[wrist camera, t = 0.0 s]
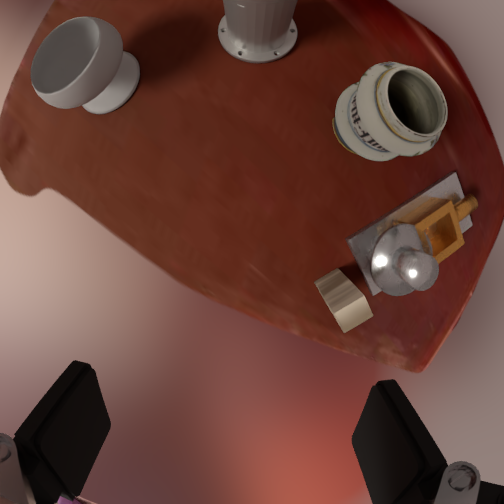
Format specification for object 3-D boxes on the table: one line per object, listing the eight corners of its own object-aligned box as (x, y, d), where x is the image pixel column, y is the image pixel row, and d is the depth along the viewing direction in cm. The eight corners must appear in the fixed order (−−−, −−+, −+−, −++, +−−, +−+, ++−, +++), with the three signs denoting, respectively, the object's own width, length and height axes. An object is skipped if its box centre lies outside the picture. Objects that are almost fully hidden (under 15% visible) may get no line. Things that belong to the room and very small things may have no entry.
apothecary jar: (332, 81, 39) (376, 34, 21) (397, 106, 40) (462, 80, 22) (318, 150, 42) (362, 132, 24) (386, 172, 43) (454, 172, 25)
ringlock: (344, 238, 45) (378, 260, 32) (450, 171, 42) (498, 174, 30) (370, 292, 47) (403, 326, 35) (467, 223, 45) (512, 237, 32)
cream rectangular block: (314, 281, 47) (333, 313, 35) (337, 267, 46) (364, 295, 35) (323, 298, 47) (344, 333, 36) (346, 285, 47) (373, 315, 35)
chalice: (109, 37, 36) (69, 1, 21) (162, 66, 38) (130, 25, 23) (63, 99, 38) (11, 81, 24) (110, 134, 40) (59, 120, 26)
